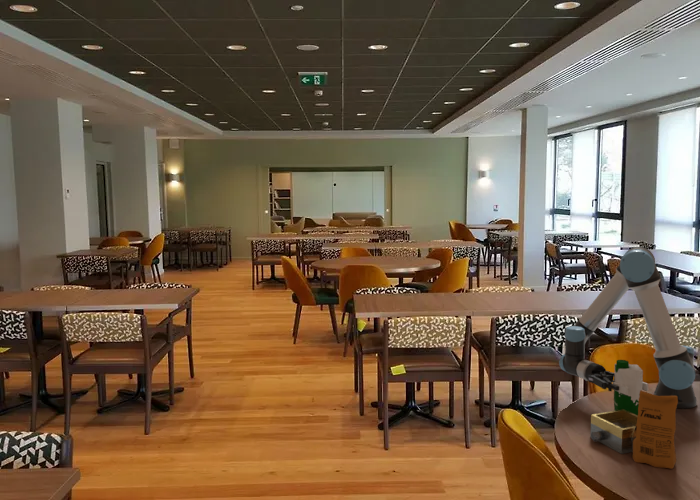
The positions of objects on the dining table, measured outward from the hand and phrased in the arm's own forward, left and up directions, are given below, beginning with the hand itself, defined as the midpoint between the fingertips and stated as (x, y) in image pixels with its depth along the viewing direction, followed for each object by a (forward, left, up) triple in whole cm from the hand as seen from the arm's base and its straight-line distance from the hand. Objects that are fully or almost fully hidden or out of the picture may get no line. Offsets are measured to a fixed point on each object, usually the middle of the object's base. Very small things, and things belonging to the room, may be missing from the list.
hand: (637, 389), depth 212 cm
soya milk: (0, -4, -11) cm, 12 cm away
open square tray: (+15, +8, -14) cm, 22 cm away
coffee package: (+15, +22, -14) cm, 30 cm away
